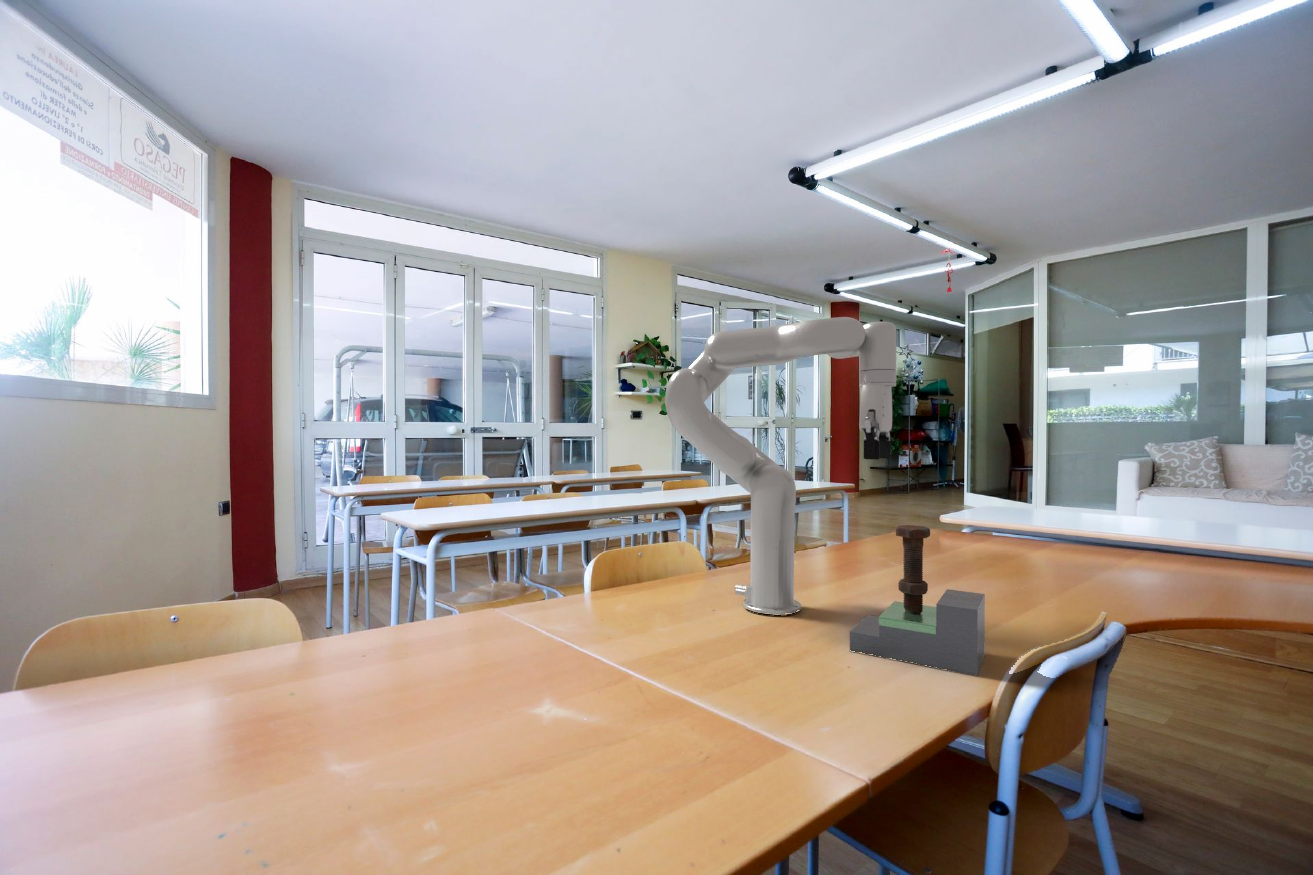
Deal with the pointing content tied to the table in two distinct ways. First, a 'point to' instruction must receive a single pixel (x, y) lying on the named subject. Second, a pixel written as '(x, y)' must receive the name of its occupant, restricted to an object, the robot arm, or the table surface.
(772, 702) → the table surface
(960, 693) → the table surface
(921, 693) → the table surface
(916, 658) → the stepped stand
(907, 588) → the bolt
